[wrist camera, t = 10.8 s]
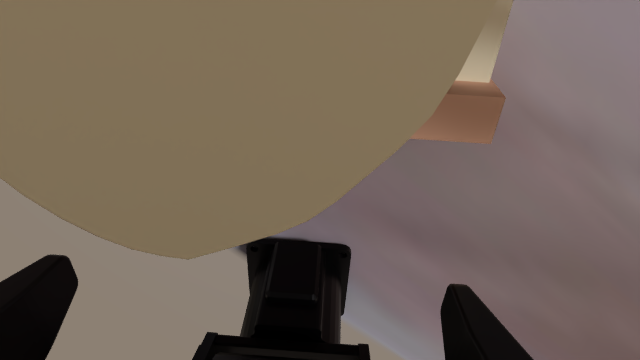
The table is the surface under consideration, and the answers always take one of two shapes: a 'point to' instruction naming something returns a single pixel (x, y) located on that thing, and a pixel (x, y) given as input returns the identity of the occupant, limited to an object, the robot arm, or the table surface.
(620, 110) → the table surface
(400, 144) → the handle
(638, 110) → the table surface
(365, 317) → the table surface
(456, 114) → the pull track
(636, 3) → the table surface
